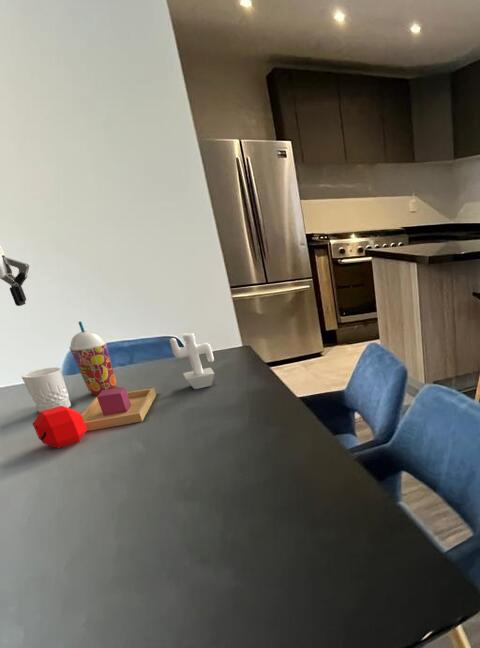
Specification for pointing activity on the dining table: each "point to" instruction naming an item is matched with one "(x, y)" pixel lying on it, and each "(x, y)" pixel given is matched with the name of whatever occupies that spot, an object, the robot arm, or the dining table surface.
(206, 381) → the figurine
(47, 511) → the dining table surface
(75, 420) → the red apple
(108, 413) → the pink block
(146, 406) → the tray
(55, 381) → the white cup
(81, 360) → the smoothie
